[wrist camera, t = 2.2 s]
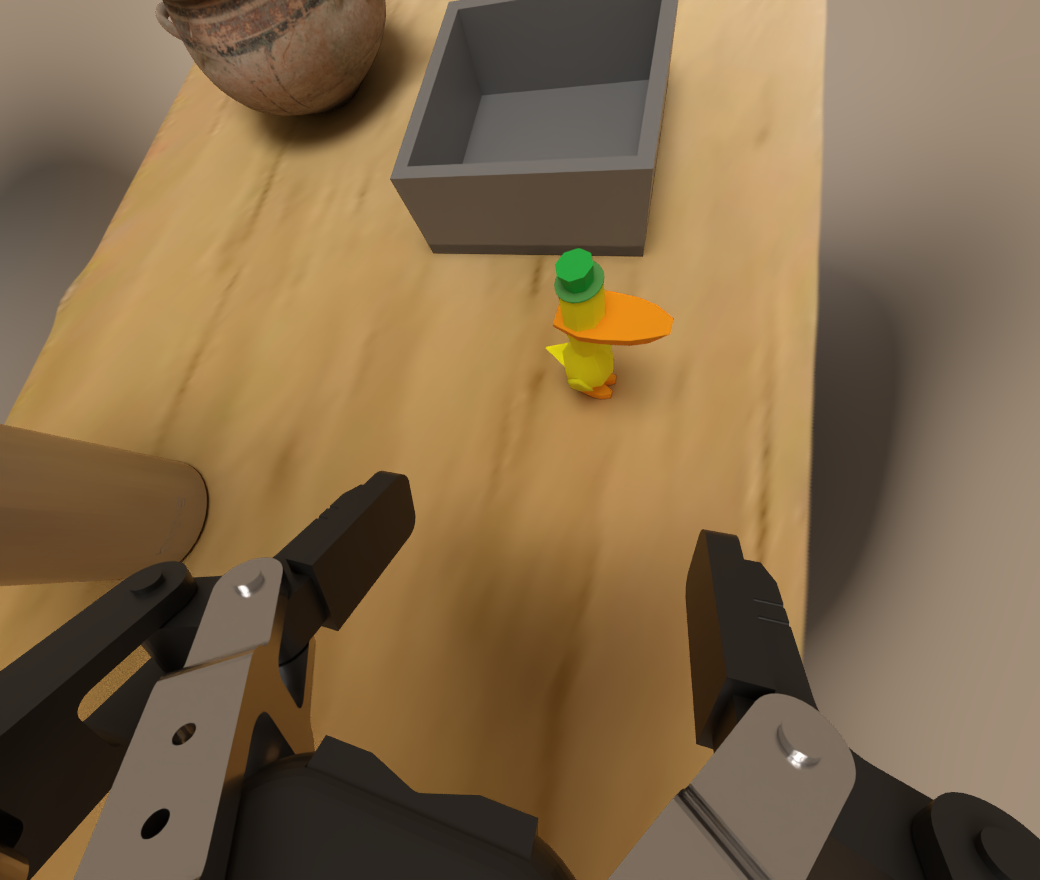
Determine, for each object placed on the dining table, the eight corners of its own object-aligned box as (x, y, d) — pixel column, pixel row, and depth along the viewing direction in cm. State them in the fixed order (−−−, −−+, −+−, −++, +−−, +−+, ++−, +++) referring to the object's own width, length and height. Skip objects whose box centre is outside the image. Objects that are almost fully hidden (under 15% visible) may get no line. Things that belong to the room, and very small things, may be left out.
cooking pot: (452, 2, 42) (393, -206, 30) (427, 139, 37) (346, -46, 25) (258, 50, 47) (147, -111, 36) (215, 174, 43) (69, 35, 31)
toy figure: (657, 371, 26) (695, 235, 15) (646, 420, 25) (676, 317, 14) (560, 355, 28) (527, 223, 17) (547, 401, 27) (504, 295, 16)
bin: (433, 253, 33) (390, 179, 26) (477, 100, 37) (449, 1, 30) (642, 256, 29) (653, 168, 22) (667, 82, 33) (683, -36, 26)
